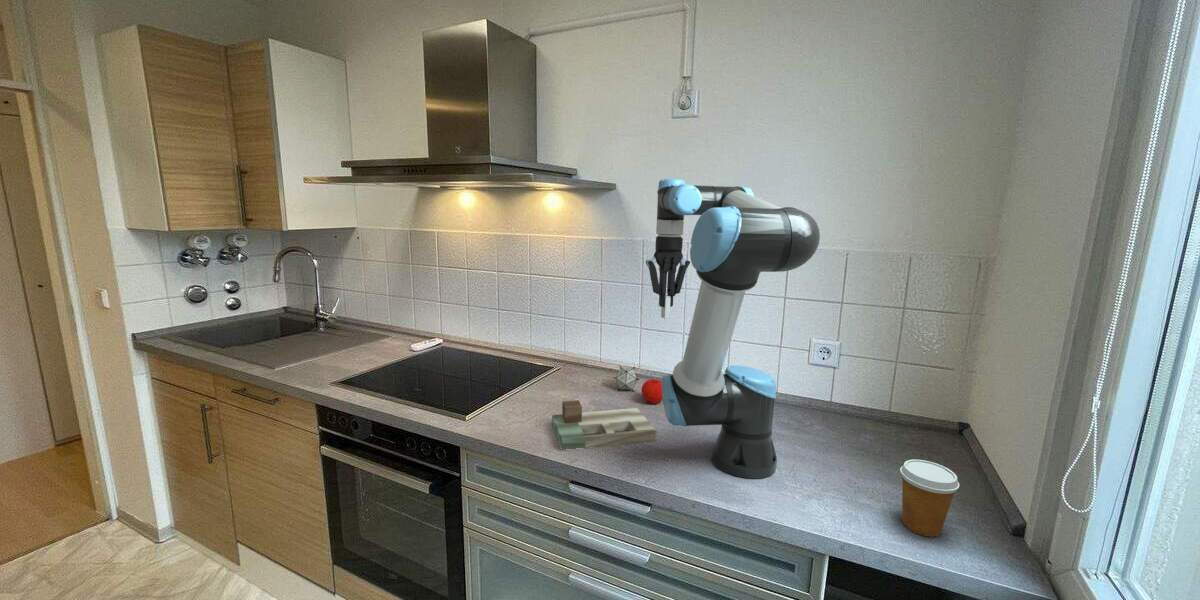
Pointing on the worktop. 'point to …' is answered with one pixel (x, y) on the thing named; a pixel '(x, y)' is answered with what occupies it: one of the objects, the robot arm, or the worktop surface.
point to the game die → (626, 378)
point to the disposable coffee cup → (926, 496)
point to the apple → (652, 391)
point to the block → (571, 411)
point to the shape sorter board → (604, 429)
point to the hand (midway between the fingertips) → (665, 317)
